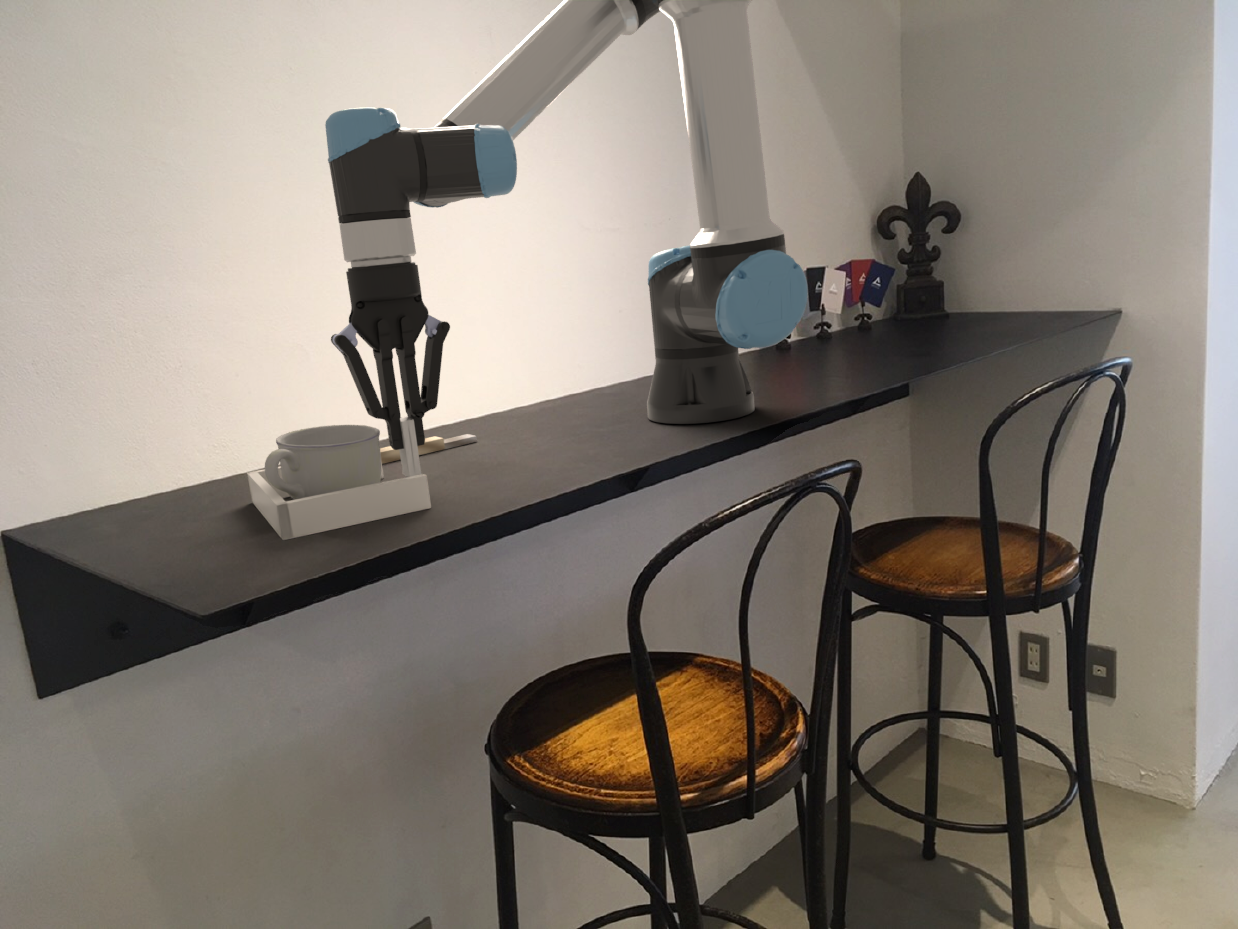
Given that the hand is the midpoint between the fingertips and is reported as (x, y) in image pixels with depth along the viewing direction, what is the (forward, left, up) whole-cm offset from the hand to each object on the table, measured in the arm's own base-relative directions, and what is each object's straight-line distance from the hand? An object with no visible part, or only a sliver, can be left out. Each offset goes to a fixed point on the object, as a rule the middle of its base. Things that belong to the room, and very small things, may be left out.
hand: (412, 475), depth 109 cm
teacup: (+10, 0, -2) cm, 10 cm away
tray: (+9, 0, -2) cm, 9 cm away
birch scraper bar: (-3, -18, -2) cm, 19 cm away
